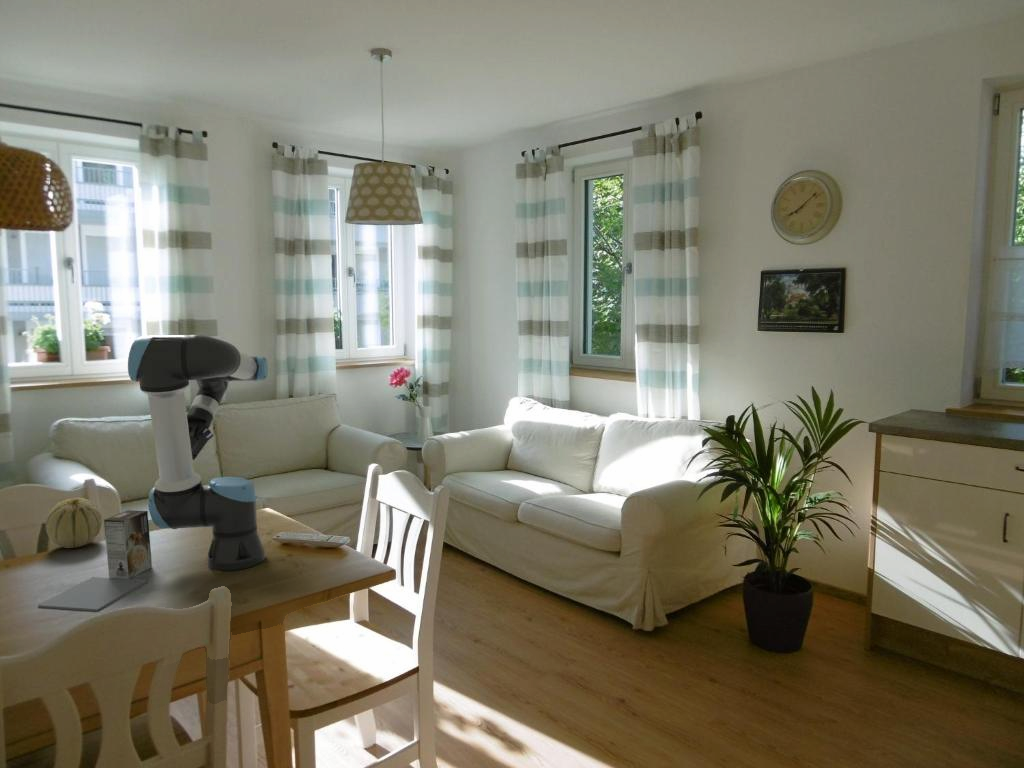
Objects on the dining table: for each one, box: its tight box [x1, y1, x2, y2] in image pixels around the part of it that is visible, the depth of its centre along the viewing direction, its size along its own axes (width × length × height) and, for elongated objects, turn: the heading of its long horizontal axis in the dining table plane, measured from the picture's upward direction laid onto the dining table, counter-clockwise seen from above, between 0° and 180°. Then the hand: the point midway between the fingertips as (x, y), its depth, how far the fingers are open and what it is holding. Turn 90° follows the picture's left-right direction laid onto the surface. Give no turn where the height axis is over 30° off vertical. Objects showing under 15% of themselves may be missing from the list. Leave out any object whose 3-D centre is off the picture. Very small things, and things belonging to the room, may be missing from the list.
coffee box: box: [103, 509, 153, 579], centre depth 196 cm, size 9×6×16 cm
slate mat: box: [37, 576, 148, 612], centre depth 182 cm, size 16×18×1 cm
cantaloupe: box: [45, 497, 103, 549], centre depth 218 cm, size 15×15×15 cm
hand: (172, 478), depth 214 cm, fingers closed
